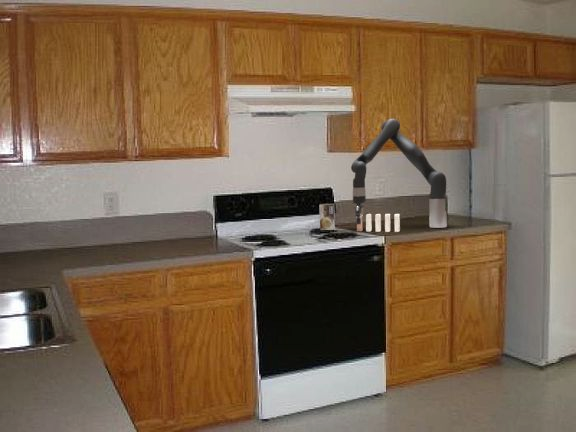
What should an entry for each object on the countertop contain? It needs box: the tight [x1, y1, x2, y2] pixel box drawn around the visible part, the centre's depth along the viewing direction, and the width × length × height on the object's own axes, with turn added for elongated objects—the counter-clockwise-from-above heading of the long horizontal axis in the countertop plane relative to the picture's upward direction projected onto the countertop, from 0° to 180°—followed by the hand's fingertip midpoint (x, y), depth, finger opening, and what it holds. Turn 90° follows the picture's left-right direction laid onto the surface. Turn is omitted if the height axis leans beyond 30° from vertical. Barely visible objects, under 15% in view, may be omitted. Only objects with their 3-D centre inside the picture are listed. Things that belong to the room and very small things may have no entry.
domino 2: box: [365, 213, 373, 233], centre depth 355 cm, size 2×5×10 cm, turn 163°
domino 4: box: [384, 213, 391, 233], centre depth 352 cm, size 2×5×10 cm, turn 163°
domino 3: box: [374, 213, 382, 233], centre depth 353 cm, size 2×5×10 cm, turn 163°
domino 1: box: [356, 214, 364, 232], centre depth 357 cm, size 2×5×10 cm, turn 163°
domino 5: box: [394, 213, 401, 233], centre depth 350 cm, size 2×5×10 cm, turn 163°
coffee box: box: [318, 203, 336, 231], centre depth 367 cm, size 9×6×16 cm
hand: (359, 223), depth 356 cm, fingers open, 6 cm apart
